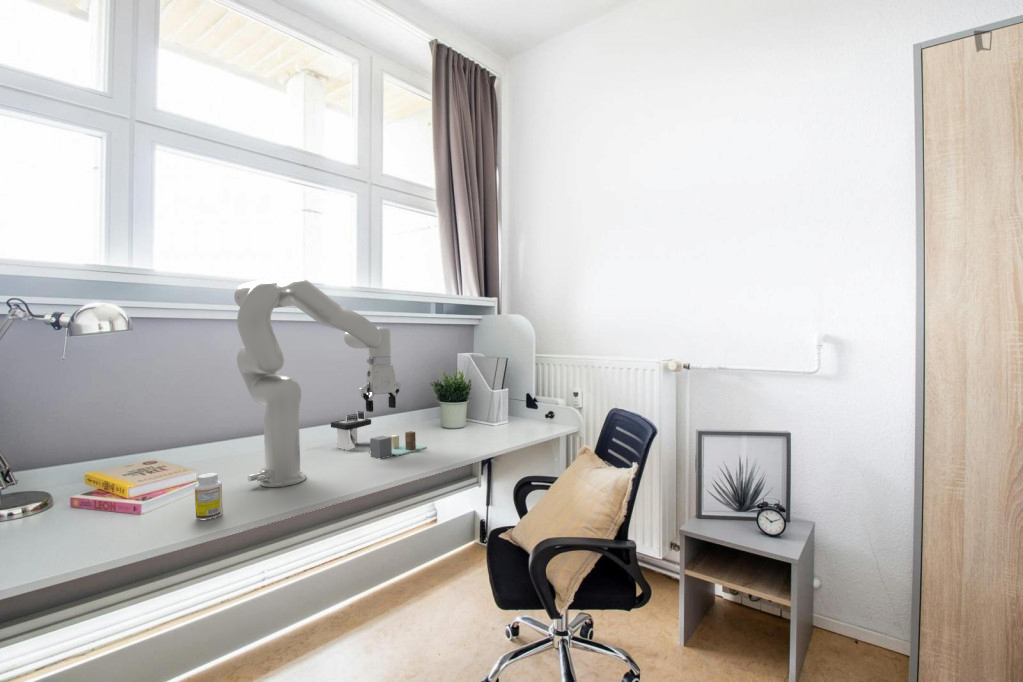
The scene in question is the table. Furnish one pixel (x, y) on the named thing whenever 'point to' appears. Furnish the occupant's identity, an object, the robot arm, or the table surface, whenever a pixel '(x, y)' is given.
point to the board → (401, 447)
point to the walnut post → (410, 440)
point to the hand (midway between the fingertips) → (381, 409)
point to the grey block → (381, 446)
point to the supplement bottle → (208, 496)
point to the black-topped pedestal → (349, 430)
